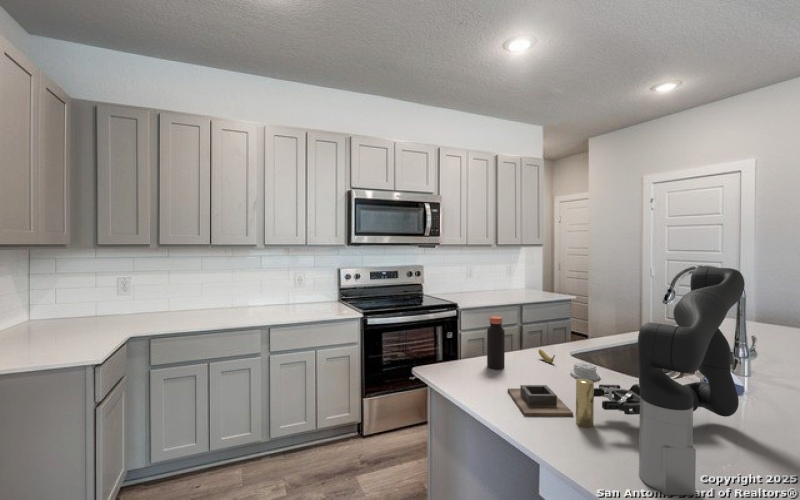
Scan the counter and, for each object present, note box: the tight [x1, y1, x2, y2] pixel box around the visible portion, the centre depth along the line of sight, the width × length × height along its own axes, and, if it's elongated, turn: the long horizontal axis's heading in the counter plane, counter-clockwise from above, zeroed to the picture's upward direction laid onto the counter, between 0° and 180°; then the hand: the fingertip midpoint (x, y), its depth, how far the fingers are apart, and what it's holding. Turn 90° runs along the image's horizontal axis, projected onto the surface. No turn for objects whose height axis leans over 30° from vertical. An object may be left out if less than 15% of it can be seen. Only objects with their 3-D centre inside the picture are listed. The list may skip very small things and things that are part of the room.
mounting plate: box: [507, 384, 574, 417], centre depth 120 cm, size 18×14×4 cm
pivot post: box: [575, 378, 595, 429], centre depth 106 cm, size 4×4×12 cm
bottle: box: [486, 315, 506, 370], centre depth 154 cm, size 7×7×20 cm
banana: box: [538, 348, 556, 364], centre depth 161 cm, size 10×2×4 cm, turn 15°
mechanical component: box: [569, 362, 601, 382], centre depth 143 cm, size 10×4×10 cm
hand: (594, 398), depth 106 cm, fingers open, 8 cm apart
